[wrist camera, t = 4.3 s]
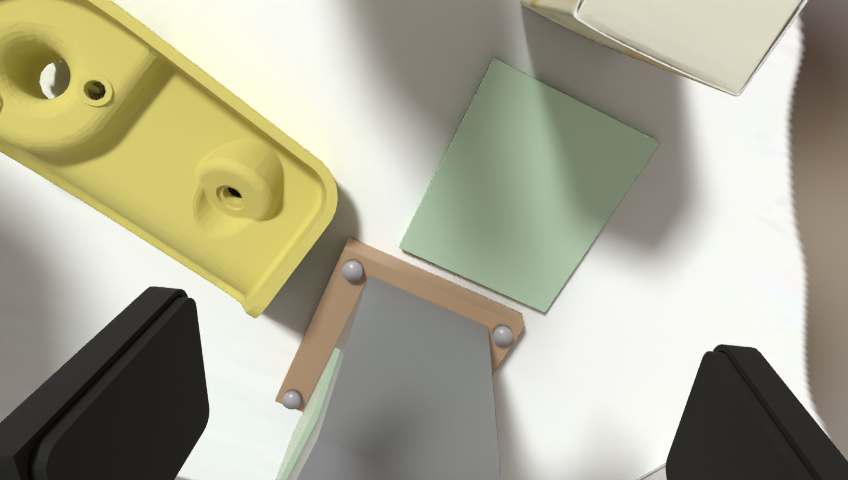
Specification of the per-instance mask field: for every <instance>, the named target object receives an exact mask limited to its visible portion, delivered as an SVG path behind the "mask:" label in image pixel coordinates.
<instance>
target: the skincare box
mask: <svg viewBox="0 0 848 480" xmlns="http://www.w3.org/2000/svg"><path fill="white" fill-rule="evenodd" d="M807 1H808V0H521V4H522V5H523V6H525V7H527V8H529V9H530V10H532V11H534V12H536V13H538V14H540V15H542V16H543V17H545V18H547V19H549V20H551V21H553V22H555V23H557V24H559V25H561V26H563V27H565V28H567V29H569V30H571V31H573V32H575V33H577V34H579V35H582V36H584V37H586V38H588V39H591V40H593V41H595V42H597V43H600V44H602V45H604V46H607V47H609V48H611V49H614V50H616V51H618V52H620V53H623V54H626V55H628V56H630V57H633V58H636V59H639V60H642V61H645V62H647V63H650V64H652V65H655V66H657V67H660V68H663V69H665V70H668V71H671V72H673V73H676V74H678V75H681V76H683V77H686V78H689V79H691V80H694V81H697V82H699V83H702V84H704V85H707V86H709V87H712V88H715V89H717V90H720V91H722V92H725V93H728V94H730V95H733V96H739V95H740V94H741V93H742V92H743V91H744V89H745V88H746V86H747V85H748V84H749V82H750V81H751V79H752V78H753V76H754V75H755V74H756V73H757V71H758V70H759V69H760V67H761V66H762V65H763V63H764V62H765V60H766V59H767V57H768V56H769V55H770V53H771V52H772V51H773V49H774V48H775V47H776V45H777V44H778V43H779V41H780V40H781V38H782V37H783V36H784V34H785V33H786V31H787V29H788V28H789V27H790V25H791V24H792V23H793V21H794V20H795V18H796V17H797V16H798V14H799V13H800V11H801V10H802V9H803V7H804V6H805V4H806V3H807Z"/></svg>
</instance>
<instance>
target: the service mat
mask: <svg viewBox="0 0 848 480" xmlns="http://www.w3.org/2000/svg"><path fill="white" fill-rule="evenodd" d="M659 144H660V143H659V142H658V141H657V140H655V139H653V138H651V137H649V136H647V135H645V134H643V133H641V132H639V131H637V130H635V129H633V128H631V127H629V126H627V125H625V124H623V123H621V122H620V121H618V120H616V119H614V118H612V117H610V116H608V115H606V114H604V113H602V112H600V111H598V110H596V109H594V108H592V107H590V106H588V105H586V104H584V103H582V102H580V101H578V100H576V99H574V98H572V97H570V96H568V95H566V94H564V93H562V92H560V91H558V90H557V89H555V88H553V87H551V86H549V85H547V84H545V83H543V82H541V81H539V80H537V79H535V78H533V77H531V76H529V75H527V74H525V73H523V72H521V71H519V70H517V69H515V68H513V67H511V66H509V65H507V64H505V63H503V62H501V61H499V60H497V59H496V58H493V60H492V62H491V64H490V66H489V68H488V70H487V72H486V74H485V76H484V78H483V80H482V82H481V84H480V86H479V88H478V90H477V92H476V94H475V96H474V98H473V100H472V102H471V104H470V106H469V108H468V110H467V112H466V114H465V116H464V118H463V120H462V122H461V124H460V126H459V128H458V130H457V132H456V134H455V136H454V138H453V140H452V142H451V144H450V146H449V148H448V149H447V151H446V153H445V155H444V157H443V159H442V161H441V163H440V165H439V167H438V169H437V171H436V173H435V175H434V177H433V179H432V181H431V183H430V185H429V187H428V189H427V191H426V193H425V195H424V197H423V199H422V201H421V203H420V205H419V207H418V209H417V211H416V213H415V215H414V217H413V219H412V221H411V223H410V225H409V227H408V229H407V231H406V233H405V235H404V237H403V239H402V241H401V243H400V247H399V248H400V249H403V250H405V251H407V252H409V253H412V254H414V255H416V256H418V257H421V258H423V259H425V260H427V261H430V262H432V263H434V264H436V265H439V266H441V267H443V268H445V269H448V270H450V271H452V272H454V273H457V274H459V275H461V276H463V277H466V278H468V279H470V280H472V281H475V282H477V283H479V284H481V285H484V286H486V287H488V288H490V289H493V290H495V291H497V292H499V293H502V294H504V295H506V296H508V297H511V298H513V299H515V300H517V301H520V302H522V303H524V304H526V305H529V306H531V307H533V308H535V309H538V310H540V311H542V312H544V313H545V312H546V310H547V309H548V307H549V306H550V305H551V303H552V302H553V300H554V299H555V297H556V296H557V294H558V293H559V291H560V290H561V288H562V287H563V285H564V284H565V282H566V281H567V279H568V278H569V277H570V275H571V274H572V272H573V271H574V269H575V268H576V266H577V265H578V263H579V262H580V260H581V259H582V257H583V256H584V254H585V253H586V252H587V250H588V249H589V247H590V246H591V244H592V243H593V241H594V240H595V238H596V237H597V235H598V234H599V232H600V231H601V229H602V228H603V227H604V225H605V224H606V222H607V221H608V219H609V218H610V216H611V215H612V213H613V212H614V210H615V209H616V207H617V206H618V204H619V203H620V201H621V200H622V199H623V197H624V196H625V194H626V193H627V191H628V190H629V188H630V187H631V185H632V184H633V182H634V181H635V179H636V178H637V176H638V175H639V174H640V172H641V171H642V169H643V168H644V166H645V165H646V163H647V162H648V160H649V159H650V157H651V156H652V154H653V153H654V151H655V150H656V148H657V147H658V146H659Z"/></svg>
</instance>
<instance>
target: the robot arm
mask: <svg viewBox="0 0 848 480" xmlns="http://www.w3.org/2000/svg"><path fill="white" fill-rule="evenodd" d="M208 418H209V402H208V394H207V387H206V379H205V371H204V363H203V355H202V347H201V340H200V332H199V324H198V316H197V308H196V303H195V301H194V299H192V298H188V296H187V294H186V292H185V291H184V290H182V289H174V288H164V287H149V288H148V289H146V290H145V291H144V292H143V293H142V294H141V295H140V296H138V297H137V298H136V299H135V300H134V301H133V302H132V303H131V304H130V305H129V306H128V307H126V308H125V309H124V310H123V311H122V312H121V313H120V314H119V315H118V316H117V317H116V318H114V319H113V320H112V321H111V322H110V323H109V324H108V325H107V326H106V327H105V328H104V329H102V330H101V331H100V332H99V333H98V334H97V335H96V336H95V337H94V338H93V339H91V340H90V341H89V342H88V343H87V344H86V345H85V346H84V347H83V348H82V349H81V350H79V351H78V352H77V353H76V354H75V355H74V356H73V357H72V358H71V359H70V360H69V361H67V362H66V363H65V364H64V365H63V366H62V367H61V368H60V369H59V370H58V371H57V372H55V373H54V374H53V375H52V376H51V377H50V378H49V379H48V380H47V381H46V382H45V383H43V384H42V385H41V386H40V387H39V388H38V389H37V390H36V391H35V392H34V393H33V394H31V395H30V396H29V397H28V398H27V399H26V400H25V401H24V402H23V403H22V404H21V405H19V406H18V407H17V408H16V409H15V410H14V411H13V412H12V413H11V414H10V415H9V416H7V417H6V418H5V419H4V420H3V421H2V422H1V423H0V480H174V479H175V477H176V476H177V474H178V472H179V471H180V469H181V468H182V466H183V464H184V463H185V461H186V459H187V458H188V456H189V454H190V453H191V451H192V450H193V448H194V446H195V445H196V443H197V441H198V440H199V438H200V436H201V435H202V433H203V431H204V430H205V428H206V425H207V422H208ZM666 478H667V480H848V461H847V460H846V459H845V458H844V456H843V455H842V454H841V453H840V451H839V450H838V449H837V448H836V446H835V445H834V444H833V443H832V441H831V440H830V439H829V438H828V436H827V435H826V434H825V433H824V431H823V430H822V429H821V428H820V427H819V425H818V424H817V423H816V422H815V420H814V419H813V418H812V417H811V415H810V414H809V413H808V412H807V410H806V409H805V408H804V407H803V405H802V404H801V403H800V402H799V400H798V399H797V398H796V397H795V395H794V394H793V393H792V392H791V390H790V389H789V388H788V387H787V385H786V384H785V383H784V382H783V380H782V379H781V378H780V377H779V375H778V374H777V373H776V372H775V370H774V369H773V368H772V367H771V365H770V364H769V363H768V362H767V360H766V359H765V358H764V357H763V355H762V354H761V353H760V352H759V351H758V350H757V349H755V348H752V347H742V346H733V345H723V344H721V345H718V346H717V347H716V348H715V349H714V350H713V352H712V351H709V352H706V353H705V354H704V356H703V358H702V361H701V364H700V366H699V369H698V372H697V375H696V378H695V381H694V384H693V386H692V389H691V392H690V395H689V398H688V401H687V403H686V406H685V409H684V412H683V415H682V418H681V420H680V423H679V426H678V429H677V432H676V435H675V437H674V440H673V443H672V446H671V449H670V452H669V455H668V457H667V461H666Z"/></svg>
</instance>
